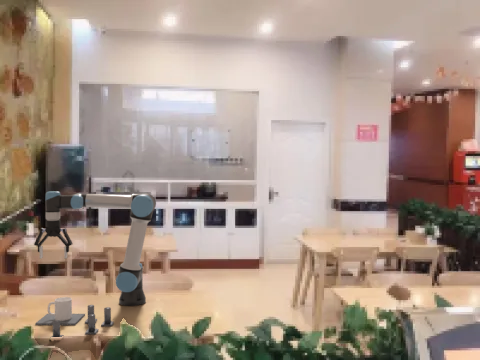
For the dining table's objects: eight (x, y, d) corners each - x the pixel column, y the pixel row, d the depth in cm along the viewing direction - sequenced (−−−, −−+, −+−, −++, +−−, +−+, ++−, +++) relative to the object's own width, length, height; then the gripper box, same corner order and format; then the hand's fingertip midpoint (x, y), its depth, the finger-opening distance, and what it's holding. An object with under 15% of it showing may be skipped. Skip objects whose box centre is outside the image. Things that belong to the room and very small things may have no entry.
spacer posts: (115, 320, 263) (115, 304, 263) (100, 341, 234) (100, 322, 233) (70, 320, 263) (70, 304, 263) (49, 340, 234) (48, 322, 234)
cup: (69, 321, 259) (69, 301, 259) (45, 321, 258) (45, 301, 258) (73, 316, 267) (73, 296, 267) (50, 316, 267) (50, 297, 266)
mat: (84, 315, 272) (84, 313, 272) (75, 325, 256) (75, 323, 256) (47, 315, 272) (47, 313, 272) (35, 325, 256) (35, 323, 256)
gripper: (78, 218, 283) (78, 256, 284) (33, 218, 283) (33, 256, 284) (73, 220, 276) (74, 259, 277) (27, 220, 276) (28, 259, 277)
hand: (53, 258), depth 280 cm, fingers open, 13 cm apart
